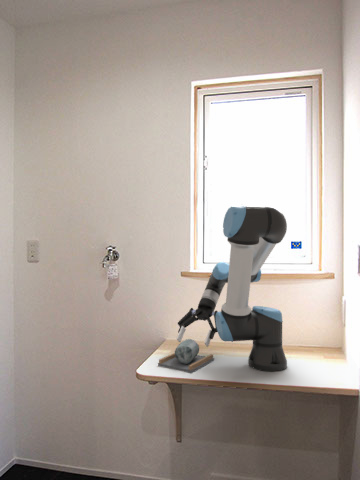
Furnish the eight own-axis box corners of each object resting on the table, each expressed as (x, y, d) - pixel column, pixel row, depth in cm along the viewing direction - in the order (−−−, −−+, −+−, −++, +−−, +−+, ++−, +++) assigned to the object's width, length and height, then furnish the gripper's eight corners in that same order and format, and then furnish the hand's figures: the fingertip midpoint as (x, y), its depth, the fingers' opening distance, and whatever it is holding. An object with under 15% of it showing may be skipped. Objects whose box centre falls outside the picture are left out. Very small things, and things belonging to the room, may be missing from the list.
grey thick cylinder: (195, 359, 147) (186, 334, 151) (174, 368, 150) (166, 343, 154) (207, 358, 159) (199, 335, 163) (188, 366, 162) (180, 344, 166)
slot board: (214, 360, 160) (214, 354, 160) (192, 372, 144) (192, 366, 144) (182, 354, 168) (182, 348, 168) (158, 365, 153) (158, 359, 153)
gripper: (236, 309, 169) (221, 351, 156) (188, 304, 182) (170, 343, 169) (231, 299, 164) (215, 342, 152) (182, 294, 178) (164, 333, 165)
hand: (191, 342), depth 160 cm, fingers open, 13 cm apart
